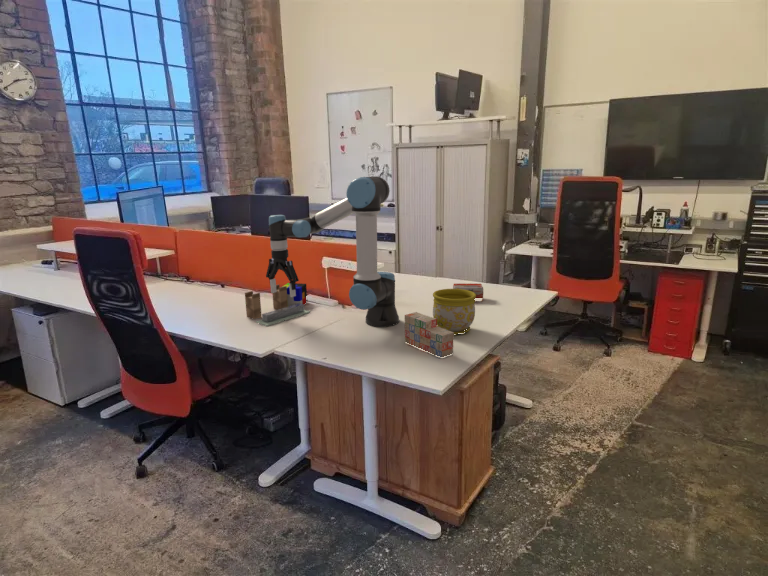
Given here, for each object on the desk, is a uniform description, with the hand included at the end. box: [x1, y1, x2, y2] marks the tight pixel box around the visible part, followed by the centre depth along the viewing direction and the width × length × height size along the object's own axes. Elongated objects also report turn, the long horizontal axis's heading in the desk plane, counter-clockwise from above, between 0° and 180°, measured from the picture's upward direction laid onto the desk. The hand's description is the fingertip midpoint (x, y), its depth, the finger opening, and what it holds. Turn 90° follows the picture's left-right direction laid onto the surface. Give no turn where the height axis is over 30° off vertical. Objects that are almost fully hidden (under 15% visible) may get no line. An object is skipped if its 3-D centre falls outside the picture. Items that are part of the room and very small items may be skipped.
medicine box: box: [452, 283, 484, 299], centre depth 258 cm, size 15×8×8 cm, turn 87°
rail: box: [261, 303, 305, 323], centre depth 232 cm, size 22×4×4 cm, turn 141°
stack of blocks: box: [404, 311, 455, 357], centre depth 190 cm, size 21×6×12 cm, turn 37°
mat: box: [255, 309, 311, 327], centre depth 232 cm, size 8×26×1 cm, turn 141°
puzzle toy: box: [281, 282, 308, 306], centre depth 253 cm, size 10×10×10 cm
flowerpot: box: [432, 288, 476, 334], centre depth 210 cm, size 18×18×16 cm
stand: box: [244, 284, 288, 320], centre depth 238 cm, size 6×20×12 cm, turn 141°
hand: (283, 294), depth 229 cm, fingers open, 13 cm apart
